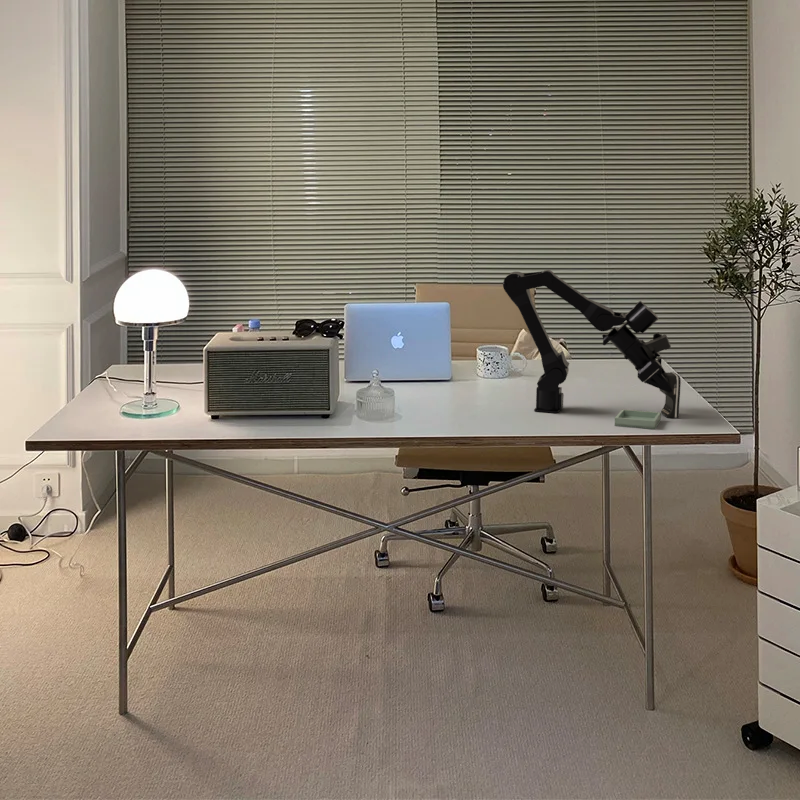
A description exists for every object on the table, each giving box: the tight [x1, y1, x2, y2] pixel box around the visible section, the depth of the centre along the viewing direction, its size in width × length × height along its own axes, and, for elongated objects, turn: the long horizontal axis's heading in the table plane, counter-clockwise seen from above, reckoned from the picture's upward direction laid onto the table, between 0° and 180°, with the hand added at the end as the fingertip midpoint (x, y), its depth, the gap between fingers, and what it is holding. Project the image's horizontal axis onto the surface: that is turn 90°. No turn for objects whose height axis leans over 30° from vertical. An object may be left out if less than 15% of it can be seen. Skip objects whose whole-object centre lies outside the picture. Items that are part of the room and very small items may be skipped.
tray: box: [614, 409, 662, 430], centre depth 269 cm, size 10×10×2 cm
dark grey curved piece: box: [658, 371, 682, 419], centre depth 275 cm, size 7×4×11 cm, turn 3°
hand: (671, 388), depth 275 cm, fingers open, 9 cm apart
